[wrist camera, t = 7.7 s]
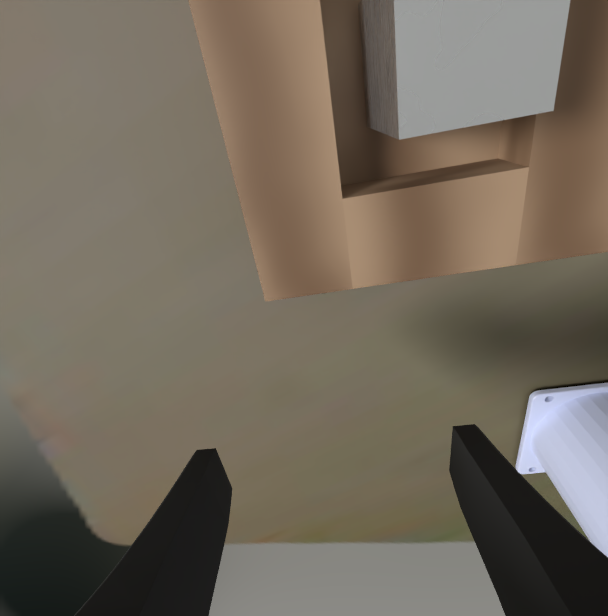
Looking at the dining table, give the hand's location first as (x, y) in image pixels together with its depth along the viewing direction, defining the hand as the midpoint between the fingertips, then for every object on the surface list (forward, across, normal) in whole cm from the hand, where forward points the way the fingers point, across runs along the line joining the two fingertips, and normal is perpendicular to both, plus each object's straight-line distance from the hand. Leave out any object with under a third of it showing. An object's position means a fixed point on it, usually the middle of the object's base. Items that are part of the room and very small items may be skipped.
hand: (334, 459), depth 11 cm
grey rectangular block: (+10, -5, -10) cm, 15 cm away
